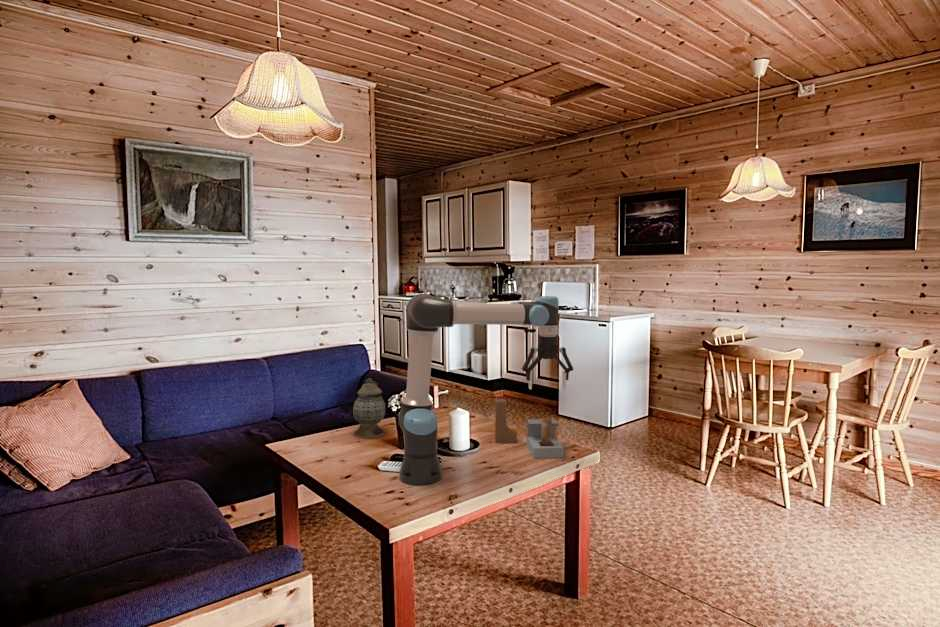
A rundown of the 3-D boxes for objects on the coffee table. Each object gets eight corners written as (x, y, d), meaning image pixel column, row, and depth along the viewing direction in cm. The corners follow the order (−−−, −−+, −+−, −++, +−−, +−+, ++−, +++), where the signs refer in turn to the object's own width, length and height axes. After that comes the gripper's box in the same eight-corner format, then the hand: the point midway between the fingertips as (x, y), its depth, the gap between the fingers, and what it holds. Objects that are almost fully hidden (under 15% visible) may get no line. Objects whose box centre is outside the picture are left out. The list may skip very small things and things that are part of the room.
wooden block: (515, 439, 246) (516, 399, 244) (516, 443, 241) (517, 401, 240) (495, 439, 246) (495, 398, 244) (495, 443, 241) (495, 401, 240)
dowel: (542, 455, 227) (542, 421, 225) (540, 452, 231) (540, 418, 229) (552, 455, 227) (552, 421, 226) (549, 451, 231) (550, 418, 230)
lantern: (347, 433, 254) (346, 377, 252) (374, 426, 264) (373, 373, 261) (364, 440, 244) (363, 383, 241) (391, 433, 253) (391, 378, 251)
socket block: (533, 458, 224) (534, 431, 222) (526, 444, 239) (526, 419, 238) (563, 457, 224) (564, 430, 223) (554, 444, 240) (555, 418, 239)
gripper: (518, 336, 219) (517, 391, 222) (582, 336, 221) (580, 390, 224) (515, 334, 227) (514, 386, 229) (576, 333, 229) (575, 385, 231)
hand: (547, 388), depth 226 cm, fingers open, 13 cm apart
